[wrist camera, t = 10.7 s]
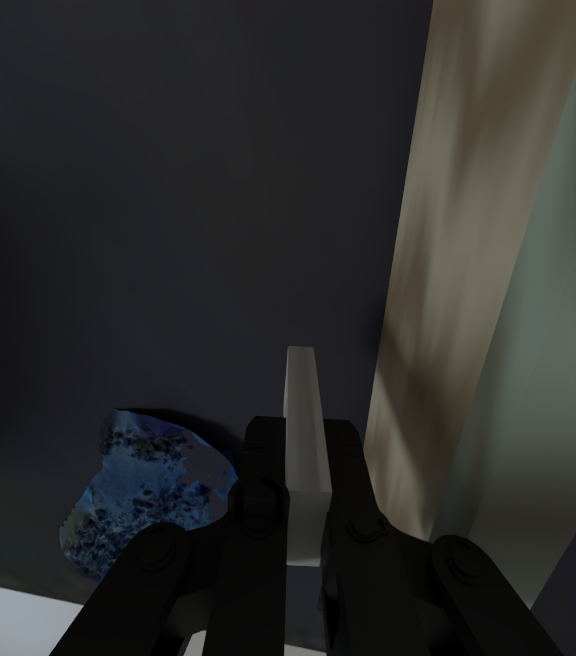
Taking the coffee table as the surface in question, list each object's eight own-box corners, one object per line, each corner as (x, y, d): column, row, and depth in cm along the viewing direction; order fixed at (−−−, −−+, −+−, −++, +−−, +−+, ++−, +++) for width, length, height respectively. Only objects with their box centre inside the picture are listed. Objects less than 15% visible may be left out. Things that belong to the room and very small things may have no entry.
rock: (60, 552, 26) (43, 579, 24) (94, 380, 19) (74, 401, 18) (240, 596, 28) (237, 625, 27) (328, 456, 22) (331, 482, 20)
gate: (426, -9, 10) (993, -809, 2) (538, -7, 10) (1660, -835, 2) (355, 468, 19) (399, 713, 10) (416, 471, 19) (510, 720, 10)
